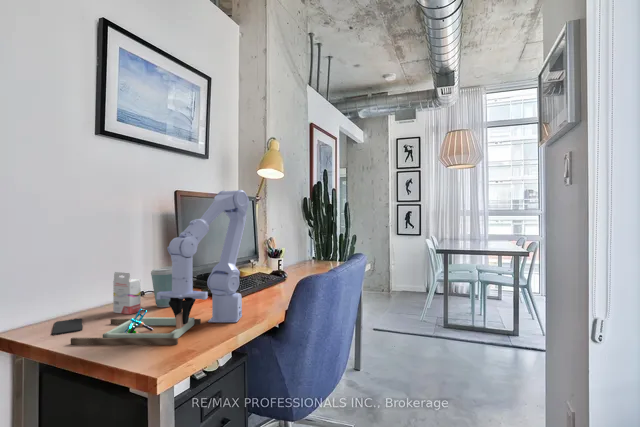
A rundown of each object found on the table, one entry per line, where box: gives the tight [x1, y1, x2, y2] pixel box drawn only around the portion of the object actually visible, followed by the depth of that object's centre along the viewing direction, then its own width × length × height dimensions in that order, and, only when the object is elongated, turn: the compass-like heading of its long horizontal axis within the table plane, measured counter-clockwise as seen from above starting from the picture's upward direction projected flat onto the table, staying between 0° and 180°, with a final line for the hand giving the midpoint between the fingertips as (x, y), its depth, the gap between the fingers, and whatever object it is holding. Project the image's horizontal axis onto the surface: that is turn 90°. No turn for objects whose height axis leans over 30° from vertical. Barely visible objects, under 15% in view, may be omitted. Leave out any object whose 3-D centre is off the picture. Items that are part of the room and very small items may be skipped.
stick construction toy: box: [124, 308, 154, 333], centre depth 103 cm, size 12×7×8 cm
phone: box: [51, 317, 84, 336], centre depth 110 cm, size 7×1×15 cm
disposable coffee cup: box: [150, 265, 172, 308], centre depth 136 cm, size 11×11×15 cm
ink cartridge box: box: [112, 271, 142, 316], centre depth 127 cm, size 9×5×15 cm, turn 68°
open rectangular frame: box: [102, 310, 195, 339], centre depth 103 cm, size 19×16×6 cm
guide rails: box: [70, 318, 202, 346], centre depth 103 cm, size 29×18×2 cm, turn 89°
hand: (182, 323), depth 103 cm, fingers closed on open rectangular frame
